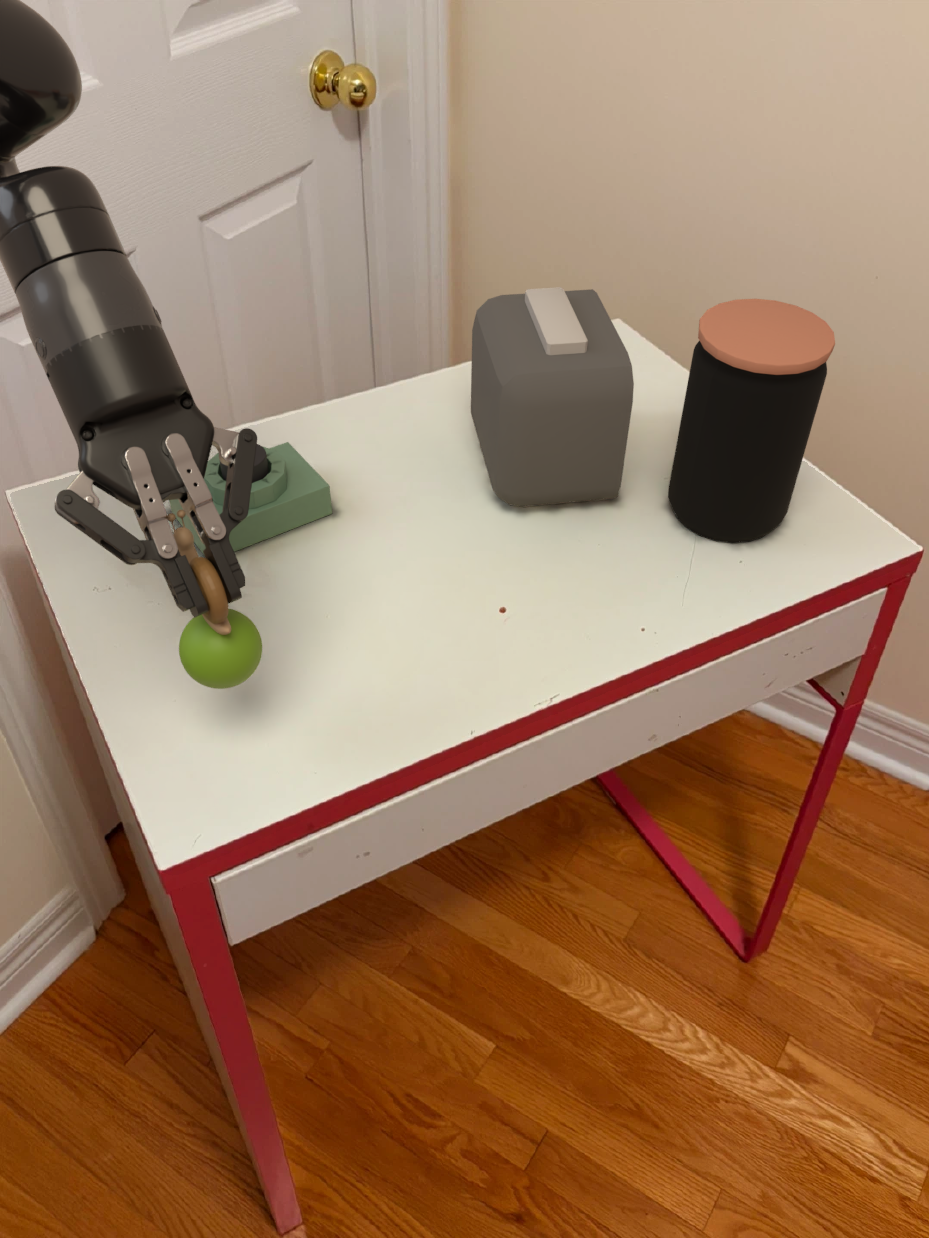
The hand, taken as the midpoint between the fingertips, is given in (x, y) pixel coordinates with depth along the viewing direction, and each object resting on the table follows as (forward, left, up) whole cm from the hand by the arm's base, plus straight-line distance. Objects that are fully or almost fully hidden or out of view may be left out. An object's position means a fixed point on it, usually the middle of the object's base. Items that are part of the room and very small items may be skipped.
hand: (217, 606), depth 65 cm
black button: (+12, +24, -9) cm, 28 cm away
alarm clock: (+38, +16, -14) cm, 44 cm away
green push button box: (+12, +24, -14) cm, 30 cm away
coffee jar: (+48, +1, -14) cm, 50 cm away
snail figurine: (0, +2, -8) cm, 8 cm away
